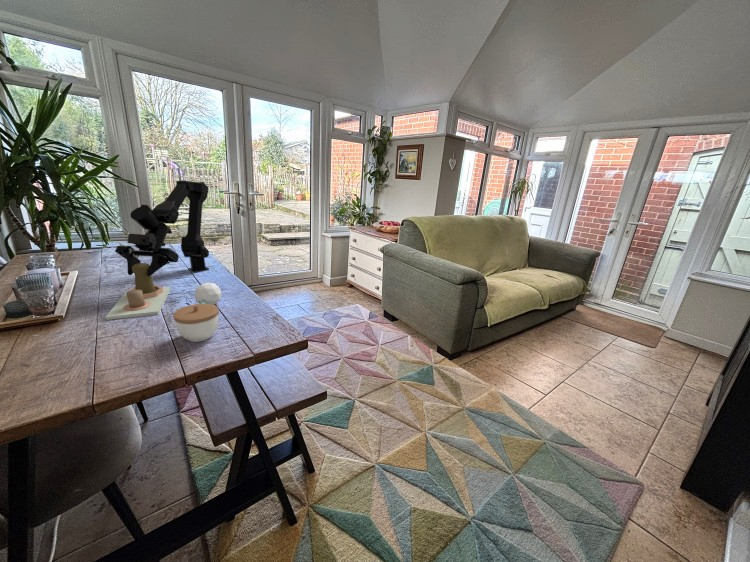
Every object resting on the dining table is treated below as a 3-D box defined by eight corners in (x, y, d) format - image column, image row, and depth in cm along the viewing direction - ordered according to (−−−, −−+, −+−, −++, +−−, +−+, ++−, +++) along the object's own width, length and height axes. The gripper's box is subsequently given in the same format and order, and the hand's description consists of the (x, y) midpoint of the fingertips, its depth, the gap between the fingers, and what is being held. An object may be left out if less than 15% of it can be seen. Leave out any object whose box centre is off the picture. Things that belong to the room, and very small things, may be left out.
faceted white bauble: (227, 289, 108) (223, 307, 98) (209, 302, 108) (202, 321, 98) (211, 274, 104) (204, 290, 93) (191, 287, 104) (182, 305, 94)
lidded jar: (227, 338, 84) (223, 307, 81) (183, 351, 77) (177, 318, 74) (214, 323, 91) (210, 295, 88) (173, 334, 84) (167, 304, 81)
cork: (131, 297, 103) (125, 266, 99) (140, 290, 108) (134, 261, 105) (152, 296, 104) (146, 266, 101) (159, 290, 110) (154, 261, 106)
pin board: (128, 292, 109) (124, 276, 107) (170, 289, 114) (168, 274, 112) (106, 319, 89) (101, 301, 87) (158, 314, 95) (155, 296, 93)
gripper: (112, 222, 102) (91, 262, 95) (168, 225, 102) (151, 265, 95) (135, 240, 112) (117, 277, 105) (185, 243, 112) (171, 280, 105)
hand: (138, 275), depth 103 cm, fingers open, 6 cm apart
